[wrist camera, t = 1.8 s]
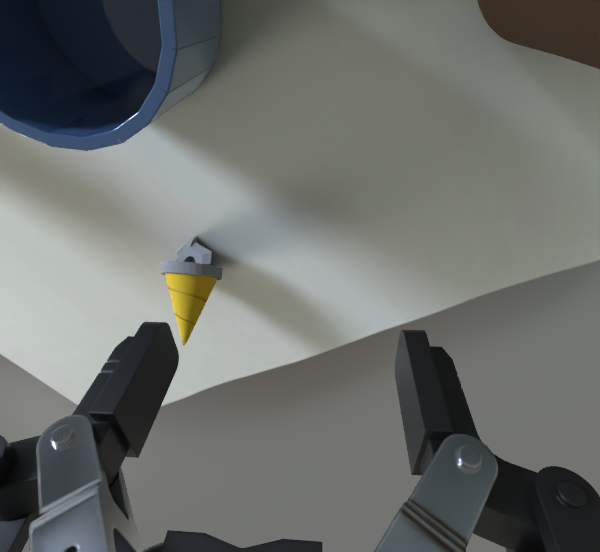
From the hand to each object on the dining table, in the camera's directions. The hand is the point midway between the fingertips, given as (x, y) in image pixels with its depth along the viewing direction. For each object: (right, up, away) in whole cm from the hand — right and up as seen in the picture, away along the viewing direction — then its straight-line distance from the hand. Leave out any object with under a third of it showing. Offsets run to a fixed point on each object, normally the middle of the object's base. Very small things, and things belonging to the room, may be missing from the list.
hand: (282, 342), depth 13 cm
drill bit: (-9, +3, +23) cm, 25 cm away
